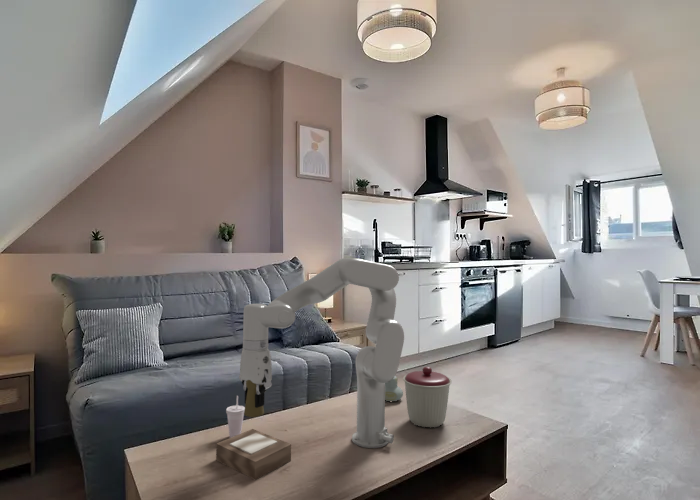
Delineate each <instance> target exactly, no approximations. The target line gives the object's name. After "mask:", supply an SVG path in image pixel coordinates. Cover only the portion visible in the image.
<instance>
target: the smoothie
mask: <svg viewBox="0 0 700 500" xmlns="http://www.w3.org/2000/svg"><path fill="white" fill-rule="evenodd" d="M244 411H245V405H239V395H236V403H235V405H231V406H227V408H226V410H225V413H226V416H227V425H228V435H229V438H231V437H234V436H236V435H239V434H241V433H242V429H243V423H244V422H243V421H244V416H245V415H244Z"/></svg>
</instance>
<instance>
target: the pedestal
mask: <svg viewBox="0 0 700 500" xmlns="http://www.w3.org/2000/svg"><path fill="white" fill-rule="evenodd" d="M215 446H216V448H215V450H216V451H215V461H216V462H219V463H221V464H223V465H225V466H226V467H229V468H231V469H233V470H234V471H237V472H239V473H241V474H243V475H244V476H247V477H249V478H251V479H252V480H255V481H256V480H258V479H259V478H261V477H263V476H266V475H267V474H268V473H271V472H272V471H275V470H276V469H279V468H280V467H283V466H285V465H286V464H287V463H290V462H291V461H292V443H289V442H287V441H284V440H282V439H279V438H278V437H274V436H271V435H269V434H266V433H264V432H261V431H260V430H257V429H254V428H251V429H249V430H245V431H244V432H241V434H239V435H236V436H234V437H231V438H230V437H229V438H227V439H224V440H221V441H219V442H216V445H215Z"/></svg>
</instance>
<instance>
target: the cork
mask: <svg viewBox="0 0 700 500" xmlns="http://www.w3.org/2000/svg"><path fill="white" fill-rule="evenodd" d="M246 386H247V388H248V391H247V397H246V404H245V403H244V407H245V411H244V416H246V417H248V418H256V417H260V416H263V415H264V414H265V410H264V405H263V406H261V407H258V408H256V407H255V394H257V392H256V384H255V383H253V382H252V381H251V380H247V381H246ZM261 387H262V385H260V388H261Z"/></svg>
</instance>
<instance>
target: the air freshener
mask: <svg viewBox="0 0 700 500" xmlns="http://www.w3.org/2000/svg"><path fill="white" fill-rule="evenodd" d="M403 396H404V391H403V389H402V388H401V387H400V386H398V377H397V376H396V375H395V376H394V378H393V379H392V380H391V381H389V382H387V383H385V400H386V401H385V402H387V401H395V402H398V401H399V400H401V399H402V398H403ZM397 400H398V401H397Z"/></svg>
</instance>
